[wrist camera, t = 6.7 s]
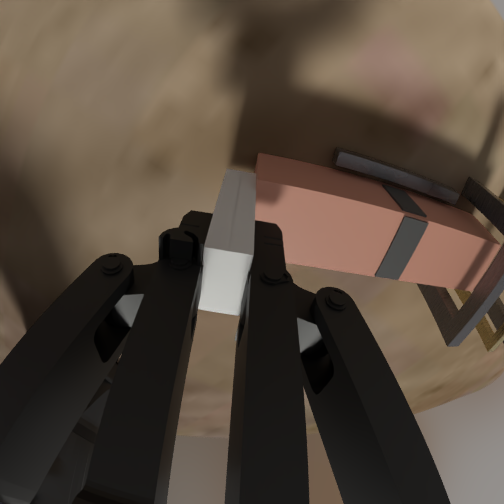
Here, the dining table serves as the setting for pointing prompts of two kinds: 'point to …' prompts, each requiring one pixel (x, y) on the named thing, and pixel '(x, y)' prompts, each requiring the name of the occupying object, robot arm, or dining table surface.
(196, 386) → the dining table surface
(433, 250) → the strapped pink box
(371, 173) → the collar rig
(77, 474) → the robot arm
